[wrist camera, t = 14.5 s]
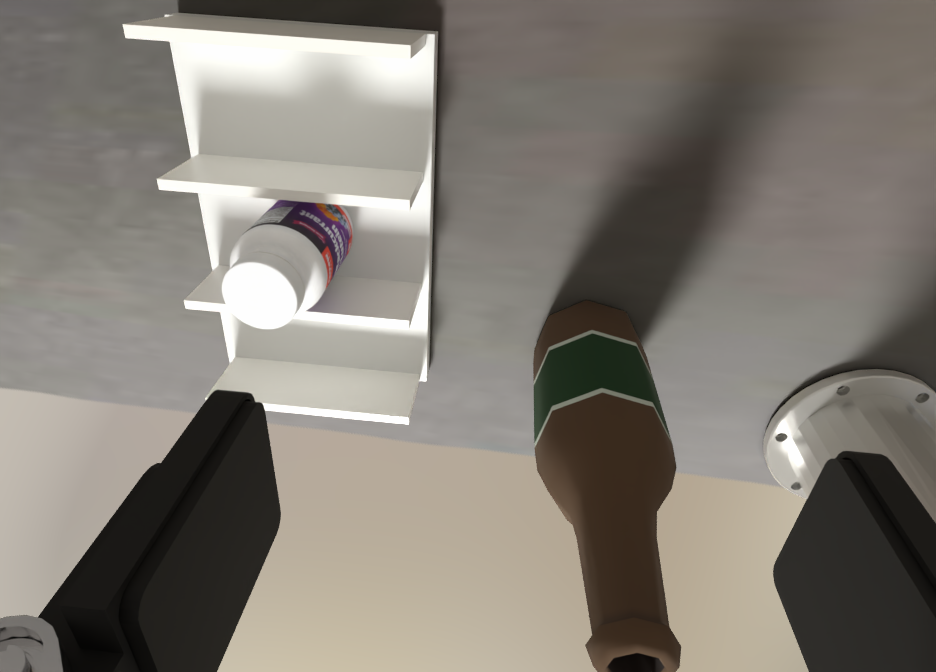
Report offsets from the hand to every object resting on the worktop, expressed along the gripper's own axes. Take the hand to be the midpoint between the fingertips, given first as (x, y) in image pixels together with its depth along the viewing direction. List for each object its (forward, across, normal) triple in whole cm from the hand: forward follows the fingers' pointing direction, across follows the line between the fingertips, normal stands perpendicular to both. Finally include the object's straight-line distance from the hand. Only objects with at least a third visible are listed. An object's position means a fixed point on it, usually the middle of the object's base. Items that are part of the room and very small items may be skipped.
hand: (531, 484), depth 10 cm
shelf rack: (+30, +13, +8) cm, 34 cm away
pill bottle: (+29, +13, +8) cm, 33 cm away
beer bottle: (+31, -6, +16) cm, 35 cm away
